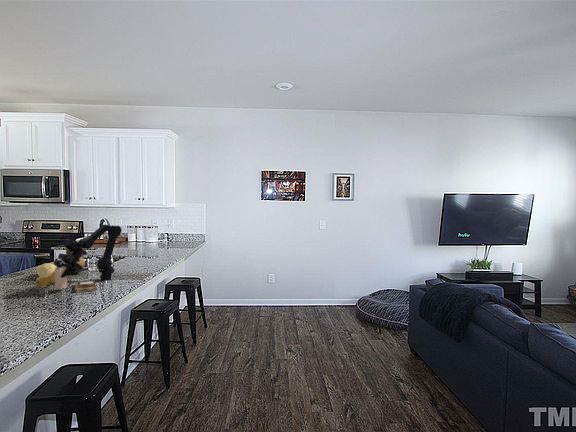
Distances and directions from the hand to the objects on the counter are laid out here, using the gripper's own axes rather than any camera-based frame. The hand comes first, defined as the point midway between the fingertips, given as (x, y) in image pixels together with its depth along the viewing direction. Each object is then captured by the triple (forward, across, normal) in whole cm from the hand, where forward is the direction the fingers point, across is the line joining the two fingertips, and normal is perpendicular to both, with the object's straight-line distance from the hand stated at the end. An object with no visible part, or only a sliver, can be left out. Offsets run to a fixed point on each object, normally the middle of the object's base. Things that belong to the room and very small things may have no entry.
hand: (58, 277), depth 218 cm
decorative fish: (-1, -22, +15) cm, 27 cm away
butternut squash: (-23, -40, +37) cm, 60 cm away
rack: (-2, +8, +15) cm, 17 cm away
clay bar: (+4, 0, +6) cm, 7 cm away
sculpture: (-9, -42, +24) cm, 49 cm away
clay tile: (-6, +3, +18) cm, 19 cm away
